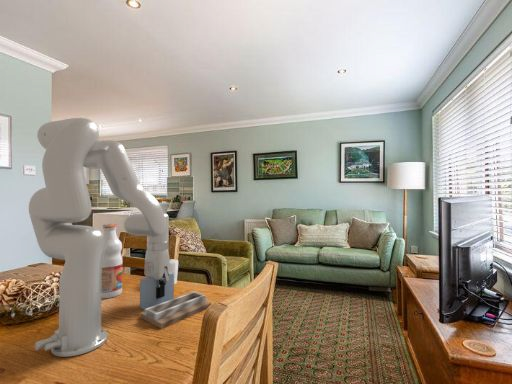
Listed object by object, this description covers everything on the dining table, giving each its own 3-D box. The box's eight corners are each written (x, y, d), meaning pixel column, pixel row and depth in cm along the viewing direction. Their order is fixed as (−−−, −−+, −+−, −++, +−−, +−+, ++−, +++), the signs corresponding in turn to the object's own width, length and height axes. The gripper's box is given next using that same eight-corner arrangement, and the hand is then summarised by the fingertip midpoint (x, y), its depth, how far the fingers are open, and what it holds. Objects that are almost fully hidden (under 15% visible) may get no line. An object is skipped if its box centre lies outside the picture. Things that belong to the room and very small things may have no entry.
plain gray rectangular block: (144, 309, 94) (144, 280, 94) (139, 307, 95) (140, 279, 96) (173, 299, 103) (173, 273, 103) (169, 297, 105) (169, 271, 105)
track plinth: (161, 328, 80) (161, 317, 80) (140, 317, 88) (140, 306, 88) (211, 306, 96) (211, 297, 96) (189, 298, 104) (189, 289, 104)
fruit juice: (94, 293, 109) (95, 224, 109) (120, 288, 114) (120, 223, 115) (96, 301, 101) (97, 226, 101) (124, 295, 107) (124, 225, 107)
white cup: (166, 287, 116) (166, 264, 116) (156, 283, 121) (156, 261, 121) (181, 282, 122) (181, 260, 123) (171, 279, 127) (171, 258, 127)
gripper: (136, 245, 102) (136, 294, 101) (161, 250, 92) (161, 305, 91) (154, 242, 107) (154, 288, 107) (180, 247, 98) (179, 298, 97)
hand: (157, 295), depth 99 cm, fingers closed on plain gray rectangular block, 3 cm apart
